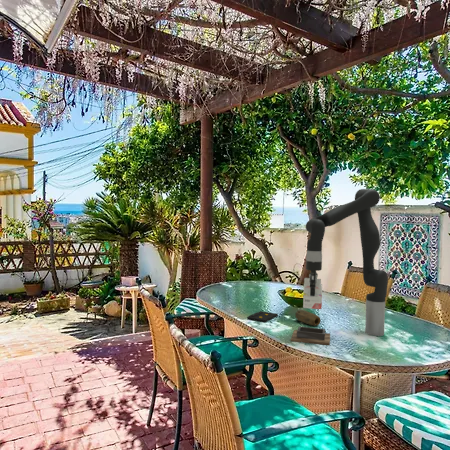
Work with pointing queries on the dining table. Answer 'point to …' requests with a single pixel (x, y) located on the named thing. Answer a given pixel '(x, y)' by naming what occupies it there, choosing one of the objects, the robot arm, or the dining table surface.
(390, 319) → the dining table surface
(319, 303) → the ink cartridge box
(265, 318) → the cassette tape
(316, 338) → the dock
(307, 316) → the brown cylinder
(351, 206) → the robot arm
